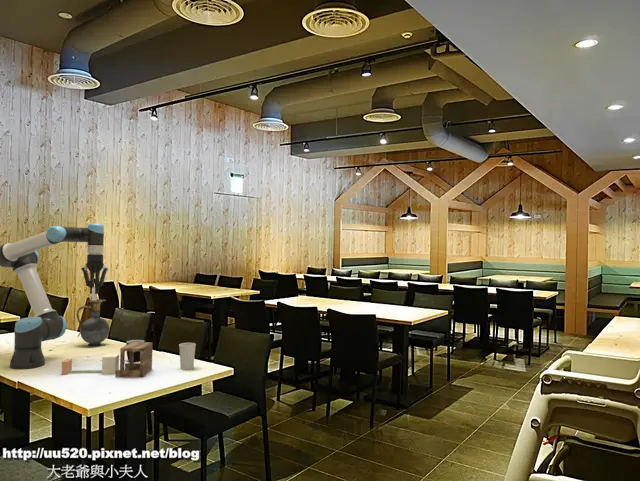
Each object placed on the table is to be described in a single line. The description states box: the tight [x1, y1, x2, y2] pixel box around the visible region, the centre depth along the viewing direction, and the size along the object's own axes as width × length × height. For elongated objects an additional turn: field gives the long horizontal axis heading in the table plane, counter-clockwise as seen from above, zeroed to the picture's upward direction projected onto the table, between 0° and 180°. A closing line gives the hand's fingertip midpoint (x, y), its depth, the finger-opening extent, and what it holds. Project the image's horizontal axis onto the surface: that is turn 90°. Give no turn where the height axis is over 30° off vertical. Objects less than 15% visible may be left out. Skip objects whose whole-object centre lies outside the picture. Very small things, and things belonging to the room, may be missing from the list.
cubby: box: [114, 341, 153, 378], centre depth 240 cm, size 12×15×13 cm
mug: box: [125, 339, 145, 363], centre depth 266 cm, size 12×9×10 cm
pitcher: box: [76, 296, 110, 348], centre depth 301 cm, size 11×19×30 cm, turn 140°
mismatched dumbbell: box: [61, 353, 120, 376], centre depth 239 cm, size 24×6×8 cm, turn 97°
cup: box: [178, 342, 197, 371], centre depth 251 cm, size 8×8×12 cm
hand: (94, 300), depth 257 cm, fingers closed
